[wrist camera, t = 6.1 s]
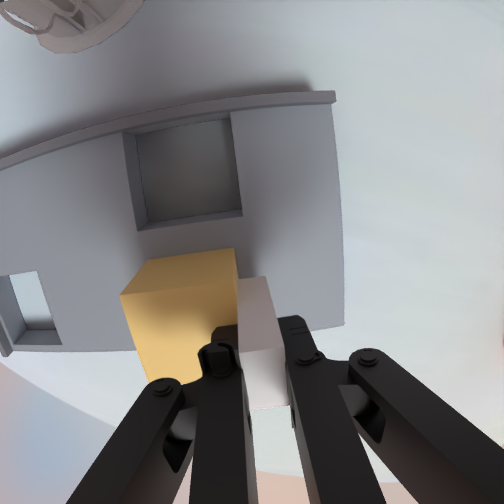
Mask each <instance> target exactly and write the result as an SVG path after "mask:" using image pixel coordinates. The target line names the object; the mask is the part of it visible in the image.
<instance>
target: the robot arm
mask: <svg viewBox="0 0 504 504" xmlns="http://www.w3.org/2000/svg"><path fill="white" fill-rule="evenodd" d="M237 311H238V324H235V325H227V326H219V327H216V329H215V330H214V331H213V332H212V334H211V343H209V344H207V345H204V346H203V347H202V348H201V349H199V351H198V353H197V355H198V359H199V363H200V366H201V370H202V377H201V378H199V379H197V380H196V381H193V382H190V383H187V384H183V385H181V384H180V382H179V381H178V380H176V379H174V378H170V377H167V378H159V379H156V380H154V381H152V382H150V383H149V384H148V385H147V386H146V387H145V388H144V390H143V391H142V393H141V394H140V395H139V397H138V398H137V400H136V401H135V403H134V404H133V406H132V407H131V408H130V410H129V411H128V413H127V414H126V416H125V417H124V419H123V420H122V422H121V423H120V424H119V426H118V427H117V429H116V430H115V432H114V433H113V435H112V436H111V438H110V439H109V441H108V442H107V443H106V445H105V446H104V448H103V449H102V451H101V452H100V454H99V455H98V457H97V458H96V460H95V461H94V463H93V464H92V466H91V467H90V469H89V470H88V471H87V473H86V474H85V476H84V477H83V479H82V480H81V482H80V483H79V485H78V486H77V488H76V489H75V491H74V492H73V494H72V495H71V497H70V498H69V500H68V501H67V503H66V504H172V503H173V501H174V499H175V496H176V494H177V492H178V489H179V487H180V485H181V483H182V480H183V478H184V476H185V473H186V471H187V468H188V466H189V464H190V461H191V459H192V457H193V463H192V473H191V485H190V496H189V504H258V494H257V482H256V470H255V458H254V446H253V434H252V421H251V416H250V411H252V410H260V409H268V408H275V407H281V406H288V405H290V408H291V420H292V428H294V431H295V436H296V440H297V445H298V450H299V454H300V459H301V464H302V468H303V473H304V478H305V482H306V487H307V492H308V496H309V501H310V504H386V501H385V498H384V496H383V493H382V491H381V488H380V486H379V483H378V481H377V478H376V476H375V473H374V471H373V468H372V466H371V463H370V461H369V459H368V456H367V454H366V451H365V449H364V446H363V444H362V442H361V439H360V437H359V434H360V435H361V437H362V438H363V439H364V440H365V441H366V443H367V444H368V445H369V446H370V447H371V449H372V450H373V451H374V452H375V453H376V455H377V456H378V457H379V458H380V459H381V460H382V462H383V463H384V464H385V465H386V466H387V467H388V469H389V470H390V471H391V472H392V473H393V474H394V476H395V477H396V478H397V479H398V480H399V481H400V483H401V484H403V486H404V487H405V488H406V490H407V491H408V492H409V493H410V494H411V495H412V496H413V498H414V499H415V500H416V501H417V502H418V503H419V504H504V449H503V448H502V447H500V446H499V445H498V444H497V443H495V442H494V441H493V440H492V439H491V438H489V437H488V436H487V435H486V434H484V433H483V432H482V431H481V430H479V429H478V428H477V427H476V426H474V425H473V424H472V423H471V422H470V421H468V420H467V419H466V418H465V417H463V416H462V415H461V414H460V413H458V412H457V411H456V410H455V409H453V408H452V407H451V406H450V405H448V404H447V403H446V402H445V401H443V400H442V399H441V398H440V397H439V396H437V395H436V394H435V393H434V392H432V391H431V390H430V389H429V388H427V387H426V386H425V385H424V384H422V383H421V382H420V381H419V380H417V379H416V378H415V377H414V376H412V375H411V374H410V373H409V372H407V371H406V370H405V369H404V368H402V367H401V366H400V365H399V364H397V363H396V362H395V361H394V360H393V359H391V358H390V357H389V356H388V355H386V354H385V353H384V352H382V351H380V350H378V349H373V348H364V349H360V350H357V351H355V352H353V353H352V354H351V356H350V357H349V361H337V360H330V359H327V358H326V357H325V355H324V354H323V353H322V352H321V351H318V350H317V347H316V345H315V343H314V340H313V338H312V335H311V333H310V331H309V328H308V326H307V324H306V321H305V319H303V318H302V317H300V316H299V315H292V316H286V317H279V318H277V317H276V313H275V309H274V305H273V301H272V298H271V294H270V290H269V286H268V283H267V279H266V276H259V277H252V278H245V279H238V280H237ZM249 409H250V410H249ZM358 433H359V434H358Z"/></svg>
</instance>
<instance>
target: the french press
mask: <svg viewBox="0 0 504 504" xmlns="http://www.w3.org/2000/svg"><path fill="white" fill-rule="evenodd" d="M143 2H144V0H8V1H5V2H4V0H0V14H1V15H2V16H3V17H4V19H5V20H7V21H8V22H9V23H11V24H12V25H14V26H16V27H18V28H20V29H22V30H24V31H25V32H27V33H29V34H36V36H37V38H38V40H39V42H40V45H41V46H43V47H45V48H47V49H48V50H50V51H52V52H54V53H77V52H79V51H82V50H84V49H87V48H89V47H92V46H95V45H97V44H100V43H102V42H103V41H104V40H106V39H107V38H108V37H110V36H111V35H113V34H114V33H115V32H117V31H118V30H120V29H121V28H123V27H124V26H125V25H126V24H127V22H128V21H129V20H130V19H131V18H132V17H133V15H134V14H135V13H136V12H137V11H138V10H139V9H140V8H141V6H142V4H143ZM4 9H5V10H6V11H7V12H9V13H12V14H14V15H16V16H18V17H19V18H21V17H22V18H21V19H22V20H24V21H27V22H29V23H30V24H32V25H33V26H35V27H34V29H33V28H31V27H29V26H27V25H24V24H22V23H20V22H18V21H16V20H14V19H13V18H12V17H10V16H9V15H8V14H7V12H6V11H5V10H4ZM10 11H11V12H10ZM17 14H18V15H17Z"/></svg>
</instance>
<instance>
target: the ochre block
mask: <svg viewBox="0 0 504 504" xmlns="http://www.w3.org/2000/svg"><path fill="white" fill-rule="evenodd" d="M238 279H239V277H238V271H237V264H236V258H235V251H234V248H227V249H220V250H213V251H206V252H199V253H192V254H185V255H178V256H171V257H164V258H157V259H150V260H147V261H146V263H145V264H144V265H143V266H142V267H141V269H140V270H139V271H138V272H137V274H136V275H135V276H134V277H133V278H132V280H131V281H130V282H129V283H128V285H127V286H126V287H125V288H124V290H123V291H122V292H121V293H120V295H119V297H120V300H121V303H122V307H123V310H124V313H125V316H126V320H127V323H128V326H129V329H130V332H131V335H132V338H133V341H134V344H135V347H136V349H137V352H138V355H139V358H140V361H141V363H142V366H143V369H144V371H145V374H146V377H147V379H148V382H149V383H150V382H152V381H154V380H156V379H159V378H167V377H170V378H174V379H176V380H178V381H179V382H180V384H187V383H190V382H193V381H196V380H197V379H199V378H201V377H202V370H201V366H200V363H199V359H198V355H197V353H198V351H199V349H201V348H202V347H203V346H204V345H207V344H209V343H211V334H212V332H213V331H214V330H215V329H216V327H219V326H227V325H235V324H238V311H237V280H238Z"/></svg>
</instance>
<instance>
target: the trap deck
mask: <svg viewBox="0 0 504 504" xmlns="http://www.w3.org/2000/svg"><path fill="white" fill-rule="evenodd" d="M334 102H336V95H335V91H301V92H283V93H269V94H258V95H248V96H239V97H230V98H223V99H215V100H208V101H202V102H196V103H190V104H184V105H179V106H173V107H168V108H163V109H158V110H153V111H149V112H144V113H140V114H136V115H131V116H127V117H123V118H119V119H116V120H112V121H108V122H104V123H101V124H97V125H94V126H90V127H87V128H84V129H81V130H77V131H74V132H71V133H68V134H65V135H62V136H59V137H56V138H53V139H50V140H48V141H45V142H42V143H39V144H37V145H34V146H31V147H29V148H26V149H24V150H21V151H19V152H16V153H14V154H11V155H9V156H7V157H4V158H2V159H0V352H1V354H2V356H3V357H8V356H9V355H10V354H11V353H12V352H13V351H30V352H107V351H132V350H137V349H136V347H135V344H134V341H133V338H132V335H131V332H130V329H129V326H128V323H127V320H126V316H125V313H124V310H123V307H122V303H121V300H120V297H119V295H120V293H121V292H122V291H123V290H124V288H125V287H126V286H127V285H128V283H129V282H130V281H131V280H132V278H133V277H134V276H135V275H136V274H137V272H138V271H139V270H140V269H141V267H142V266H143V265H144V264H145V263H146V261H147V260H150V259H157V258H164V257H171V256H178V255H185V254H192V253H199V252H206V251H213V250H220V249H227V248H234V251H235V258H236V264H237V271H238V277H239V279H245V278H252V277H259V276H266V279H267V283H268V286H269V290H270V294H271V298H272V301H273V305H274V309H275V313H276V317H277V318H279V317H286V316H292V315H299V316H300V317H302V318H303V319H305V321H306V324H307V326H308V328H309V331H315V330H321V329H327V328H333V327H338V326H343V325H344V256H343V231H342V212H341V197H340V184H339V172H338V161H337V151H336V142H335V133H334V125H333V117H332V109H331V104H332V103H334ZM228 118H231V126H232V134H233V142H234V150H235V158H236V166H237V174H238V181H239V189H240V197H241V205H242V209H241V210H234V211H226V212H219V213H212V214H205V215H198V216H191V217H184V218H177V219H171V220H164V221H158V222H152V223H149V222H148V217H147V211H146V206H145V200H144V194H143V187H142V181H141V174H140V167H139V160H138V153H137V145H136V137H135V135H137V134H142V133H146V132H151V131H156V130H161V129H166V128H171V127H177V126H182V125H188V124H194V123H200V122H207V121H213V120H220V119H228ZM32 271H37V273H38V276H39V280H40V283H41V286H42V289H43V293H44V296H45V299H46V302H47V305H48V307H49V310H50V313H51V316H52V319H53V321H54V324H55V327H56V329H54V330H28V329H27V327H26V324H25V322H24V319H23V316H22V314H21V311H20V308H19V306H18V303H17V300H16V297H15V294H14V291H13V288H12V285H11V282H10V278H9V275H12V274H18V273H25V272H32Z"/></svg>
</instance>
